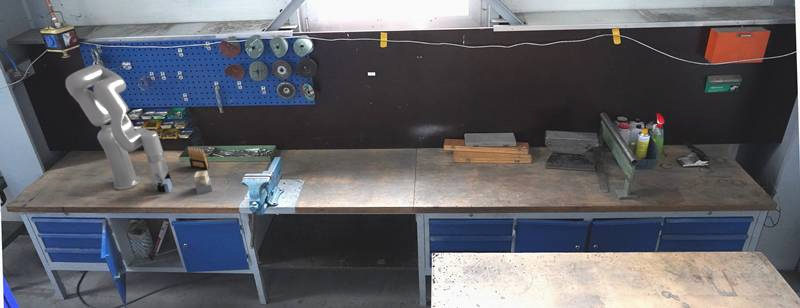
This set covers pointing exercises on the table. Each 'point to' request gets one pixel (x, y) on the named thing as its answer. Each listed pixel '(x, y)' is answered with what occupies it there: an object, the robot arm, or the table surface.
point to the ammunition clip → (198, 159)
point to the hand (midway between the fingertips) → (165, 187)
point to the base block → (204, 188)
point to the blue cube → (167, 185)
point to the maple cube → (201, 178)
